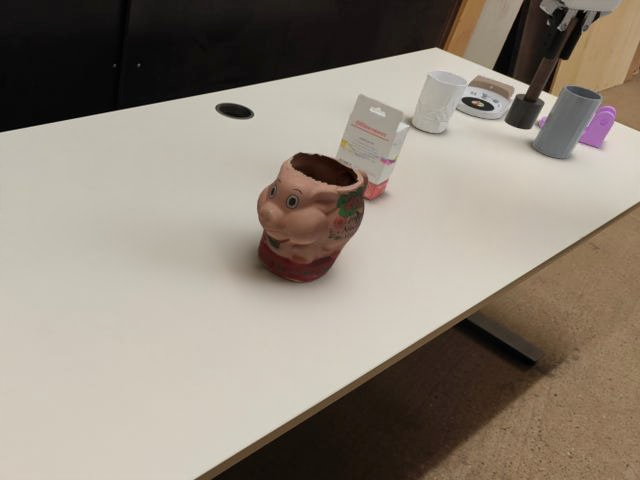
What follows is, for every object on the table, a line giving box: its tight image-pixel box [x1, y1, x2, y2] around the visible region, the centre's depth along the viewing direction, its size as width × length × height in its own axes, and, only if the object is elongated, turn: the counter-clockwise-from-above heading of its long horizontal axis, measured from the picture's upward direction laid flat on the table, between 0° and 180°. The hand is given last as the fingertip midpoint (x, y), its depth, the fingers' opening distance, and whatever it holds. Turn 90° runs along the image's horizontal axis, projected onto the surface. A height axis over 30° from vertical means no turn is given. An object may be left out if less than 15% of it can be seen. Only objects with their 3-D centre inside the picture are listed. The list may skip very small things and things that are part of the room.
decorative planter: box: [256, 151, 368, 283], centre depth 89 cm, size 20×12×14 cm, turn 135°
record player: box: [456, 74, 516, 120], centre depth 152 cm, size 12×3×20 cm
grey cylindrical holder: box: [532, 84, 604, 160], centre depth 134 cm, size 7×7×12 cm
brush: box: [503, 16, 578, 131], centre depth 103 cm, size 4×4×16 cm
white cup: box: [411, 69, 469, 134], centre depth 135 cm, size 8×8×10 cm
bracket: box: [538, 105, 617, 149], centre depth 145 cm, size 13×6×7 cm, turn 59°
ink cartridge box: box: [335, 93, 411, 201], centre depth 108 cm, size 9×5×15 cm, turn 47°
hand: (552, 55), depth 101 cm, fingers closed on brush, 2 cm apart
